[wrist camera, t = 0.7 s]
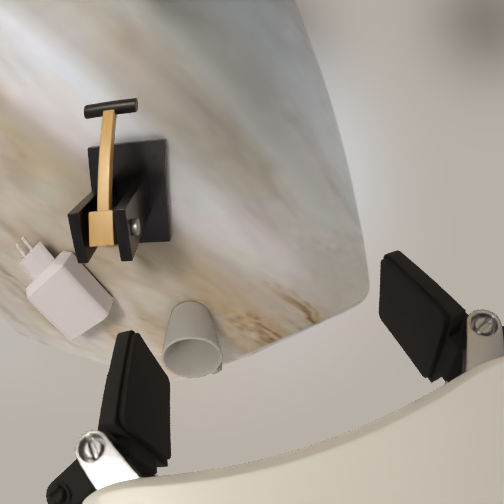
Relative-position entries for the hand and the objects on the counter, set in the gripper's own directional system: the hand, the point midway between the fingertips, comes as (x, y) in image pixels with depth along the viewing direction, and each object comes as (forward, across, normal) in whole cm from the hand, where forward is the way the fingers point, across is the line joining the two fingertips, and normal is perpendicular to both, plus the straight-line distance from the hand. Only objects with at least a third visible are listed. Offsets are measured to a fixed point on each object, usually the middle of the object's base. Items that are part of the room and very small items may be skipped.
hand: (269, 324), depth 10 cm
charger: (+26, +25, +6) cm, 37 cm away
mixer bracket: (+26, +10, -1) cm, 28 cm away
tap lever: (+18, +9, -5) cm, 21 cm away
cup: (+26, +9, +20) cm, 34 cm away
